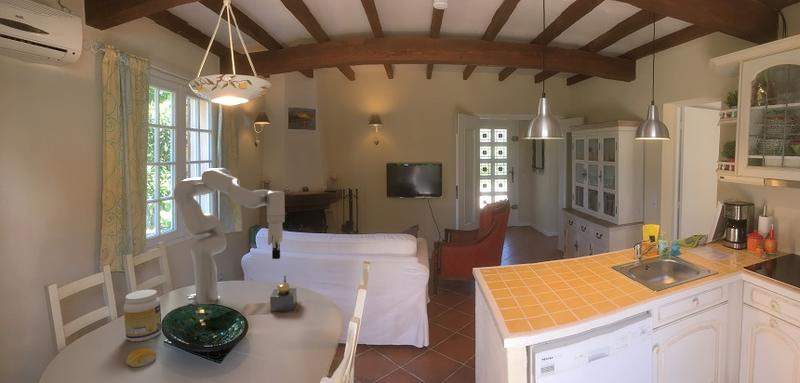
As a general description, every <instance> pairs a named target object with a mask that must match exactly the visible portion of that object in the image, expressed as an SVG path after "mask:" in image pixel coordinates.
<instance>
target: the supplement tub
mask: <svg viewBox="0 0 800 383" xmlns="http://www.w3.org/2000/svg"><path fill="white" fill-rule="evenodd" d="M122 310H123V316H124V317H123V319H124V332H125V338H126V340H128V341H129V340H130V341H129V342H135V341H136V342H143V340H144V341H147V340H151V339H153V338H155V337H157V336H158V335H160V333H162V331H161V323H162V310H161V300H160V298H159V297H158V292H157V290H156V289H142V290H137V291H133V292H130V293H128V294H126V295H125V303H124V305H123V309H122ZM162 324H163V323H162Z"/></svg>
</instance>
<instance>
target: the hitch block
mask: <svg viewBox="0 0 800 383" xmlns="http://www.w3.org/2000/svg"><path fill="white" fill-rule="evenodd" d="M297 300H298V298H297V288H296V287H295V288H294V287H293V288H290V287H289V293H288V294H284V295H280V294H278V292H277V288H275V289H273V291H272V292H271V294H270V297H269V303H270V309H271V312H288V311H294V309H295V306H296V303H297Z"/></svg>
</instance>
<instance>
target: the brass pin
mask: <svg viewBox="0 0 800 383" xmlns="http://www.w3.org/2000/svg"><path fill="white" fill-rule="evenodd" d="M276 287H277V288H276V289H277V292H278V294H280V295H284V294H288V293H289V288H290V283H288V282H286V283H284V282H282V283H281V282H280V283H278V284H277V286H276Z"/></svg>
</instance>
